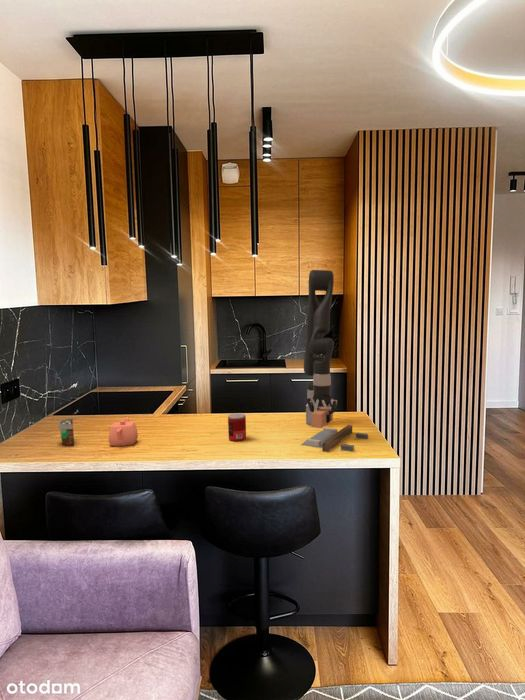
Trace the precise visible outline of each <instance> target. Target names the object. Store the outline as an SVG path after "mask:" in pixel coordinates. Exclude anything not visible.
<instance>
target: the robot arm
mask: <svg viewBox="0 0 525 700" xmlns="http://www.w3.org/2000/svg"><path fill="white" fill-rule="evenodd" d="M334 276H335V275H334V273H333V271H332V270H328V269H327V270H326V269H325V270H323V269H311V271H309V275H308V304H307V305H308V307H307V319H306V339H305V340H306V343H305V351H304V357H303V358H304V359H303V372H304V374H305V375H306V376H308V377H309V376H310V377H311V376H313V379H312V381H309V382H308V383H307V384H306V385H307V387H306V390H307V393H306V394H307V395H306V396H307V398H306V400H307V401H306V402H307V404H306V405H305V424H306V425H309V426H312V420H311V413H313V412H315V411H316V410H318V409H320V408H321V407H324V409H325V410H326V414H327V415H326V423H328V424H329V422H330V421H331V414H333V415H334V413H336V409H337V406H338V403H339V402H338V399H333V398H332V396H331V395H332V393H331V392H332V389H331V387H332V383H331V382H332V381H331V359H332V356H333V355H332V354H333V351H334V348H335V343H334V340H333V339H332V338H331V337H325V335H327V334H329V333H330V330H331V309H332V303H333V301H332V300H333V292H334V283H335V282H334V280H335V279H334ZM317 291H319V292H325V294H324V297H323V300H322V301H321V302H319V300H318V298H317V295H316V292H317ZM314 355H316V356H314ZM324 355H325V356H324ZM330 404H331V405H332V406H330ZM330 407H332V408H331V410H330ZM331 422H332V421H331ZM331 422H330V423H331Z"/></svg>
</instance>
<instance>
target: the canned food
mask: <svg viewBox="0 0 525 700" xmlns="http://www.w3.org/2000/svg"><path fill="white" fill-rule="evenodd" d="M227 425H228V429H227V431H228V432H227V433H228V439H229V441H230V442H233V441H234V442H235V443H238V442H239V441H240V442H243V440H244V441H245V440H246V439H247V418H246V414H245V413H242V412H238V413H237V412H235V413H234V412H233V413H230V414H228V415H227ZM234 442H233V443H234ZM240 442H239V443H240Z"/></svg>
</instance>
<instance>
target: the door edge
mask: <svg viewBox="0 0 525 700" xmlns="http://www.w3.org/2000/svg"><path fill="white" fill-rule="evenodd" d="M351 434H353V424H347V425H345V426H344V427H343V428H341V429H340V430H339V431H337V433H336V434H334V435H333V436H332V437H330V438H329V439H327V440H326V441H325V442H323V443H322V448H321V449H322V452H323V453H327V452H329V451H330V450H332V449H333V448H335V446H337V445H338V444H339V443H341V442H342V441H343V440H345V439H346V438H347V437H349V436H350V435H351Z"/></svg>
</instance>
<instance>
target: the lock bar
mask: <svg viewBox="0 0 525 700" xmlns="http://www.w3.org/2000/svg"><path fill="white" fill-rule="evenodd" d="M331 408H332V406H330V410H331ZM326 415H327V414H326V410H325V409H324V407H321V408H320V409H318V410H316V411H315V412H313V413H311V420H312V425H311V428H317V429H323V428H325V426H327V425H328V424H329V423H331V422H333V420H334V413H333V414H331V421H330V422H329V423H326Z"/></svg>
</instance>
